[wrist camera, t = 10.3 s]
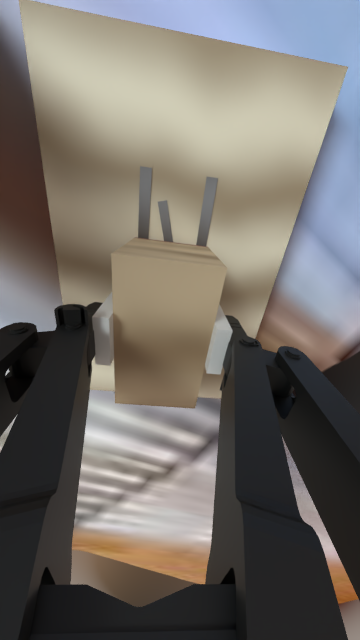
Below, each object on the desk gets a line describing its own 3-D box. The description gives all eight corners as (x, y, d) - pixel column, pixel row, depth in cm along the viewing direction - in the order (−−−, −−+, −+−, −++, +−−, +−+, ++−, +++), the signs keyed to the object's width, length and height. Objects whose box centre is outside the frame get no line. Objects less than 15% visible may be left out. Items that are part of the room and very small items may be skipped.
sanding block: (135, 237, 14) (111, 253, 9) (207, 246, 14) (227, 268, 9) (132, 346, 18) (115, 403, 13) (189, 351, 19) (195, 408, 13)
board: (43, 32, 11) (17, -3, 9) (323, 87, 12) (348, 66, 11) (82, 374, 22) (74, 388, 20) (229, 385, 23) (234, 399, 22)
